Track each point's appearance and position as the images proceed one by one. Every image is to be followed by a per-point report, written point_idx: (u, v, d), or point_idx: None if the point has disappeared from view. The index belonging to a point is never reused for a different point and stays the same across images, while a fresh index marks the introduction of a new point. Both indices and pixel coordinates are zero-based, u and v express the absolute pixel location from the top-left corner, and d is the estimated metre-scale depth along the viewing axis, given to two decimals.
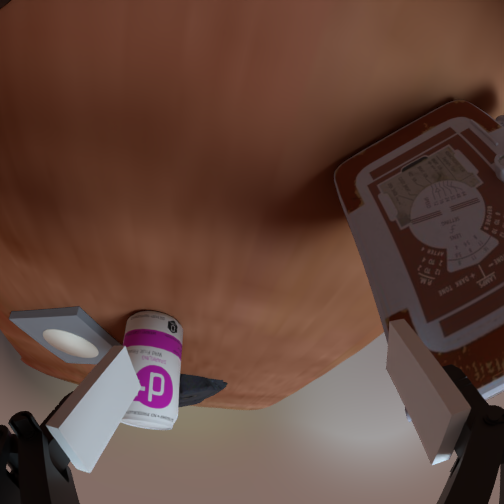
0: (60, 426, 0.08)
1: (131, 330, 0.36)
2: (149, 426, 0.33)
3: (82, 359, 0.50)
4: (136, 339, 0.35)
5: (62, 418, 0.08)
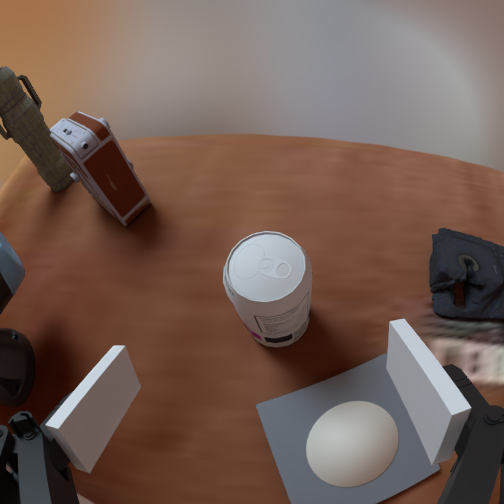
0: (60, 426, 0.08)
1: (248, 330, 0.36)
2: (289, 261, 0.26)
3: (410, 436, 0.27)
4: None
5: (62, 418, 0.08)
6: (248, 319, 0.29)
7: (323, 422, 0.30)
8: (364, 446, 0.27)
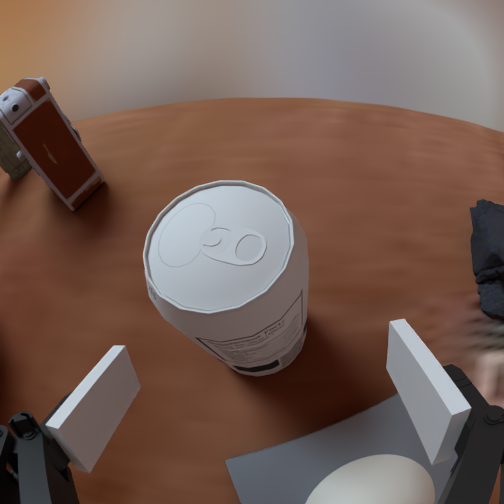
0: (60, 426, 0.08)
1: None
2: (262, 231, 0.13)
3: None
4: None
5: (62, 418, 0.08)
6: (194, 341, 0.16)
7: (327, 487, 0.17)
8: None
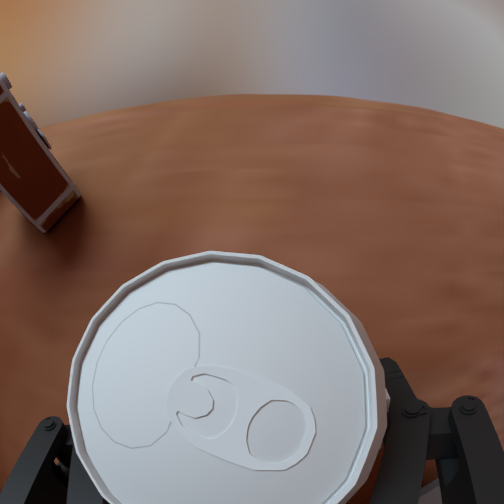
0: None
1: None
2: (307, 393, 0.05)
3: None
4: None
5: None
6: None
7: None
8: None
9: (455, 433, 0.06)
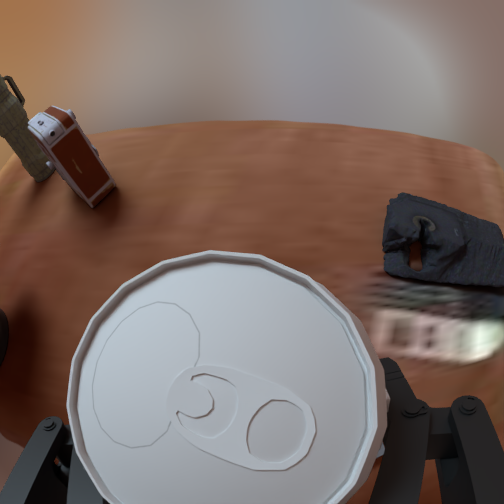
0: None
1: None
2: (306, 392, 0.05)
3: None
4: None
5: None
6: None
7: None
8: None
9: (455, 433, 0.06)
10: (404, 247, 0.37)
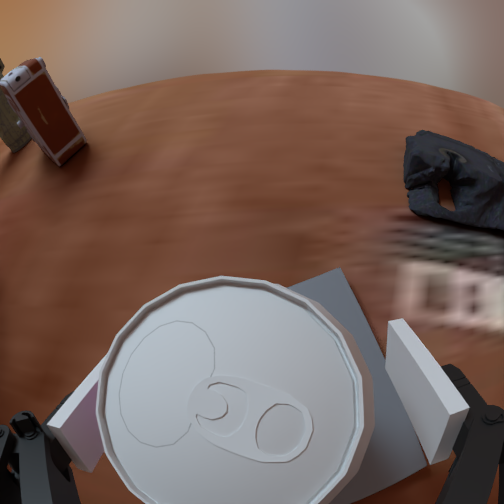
0: (61, 426, 0.08)
1: None
2: (305, 397, 0.06)
3: None
4: None
5: (63, 418, 0.08)
6: None
7: None
8: None
9: None
10: (432, 182, 0.28)
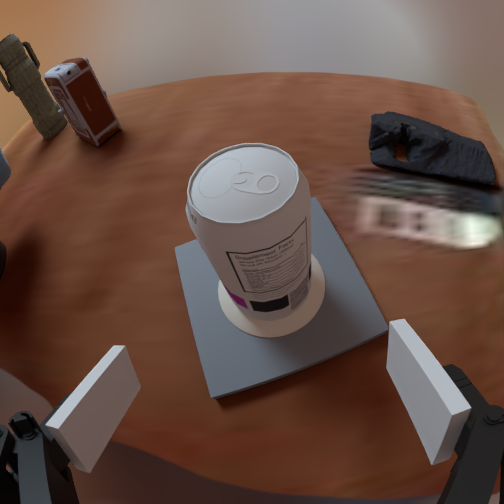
0: (60, 426, 0.08)
1: (230, 296, 0.27)
2: (276, 173, 0.18)
3: (340, 281, 0.30)
4: None
5: (62, 418, 0.08)
6: (222, 266, 0.20)
7: None
8: None
9: None
10: (388, 144, 0.39)
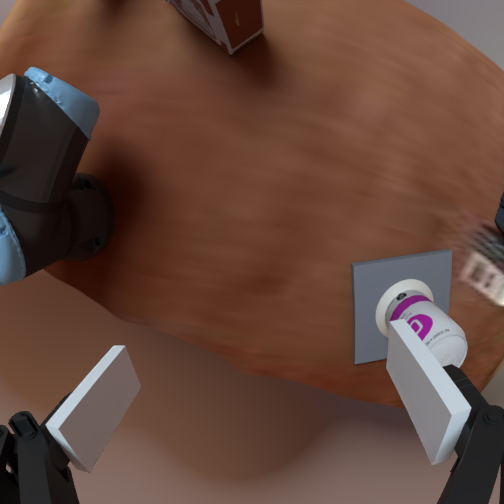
0: (60, 426, 0.08)
1: None
2: (457, 357, 0.30)
3: None
4: None
5: (62, 418, 0.08)
6: None
7: (394, 289, 0.44)
8: None
9: None
10: None
